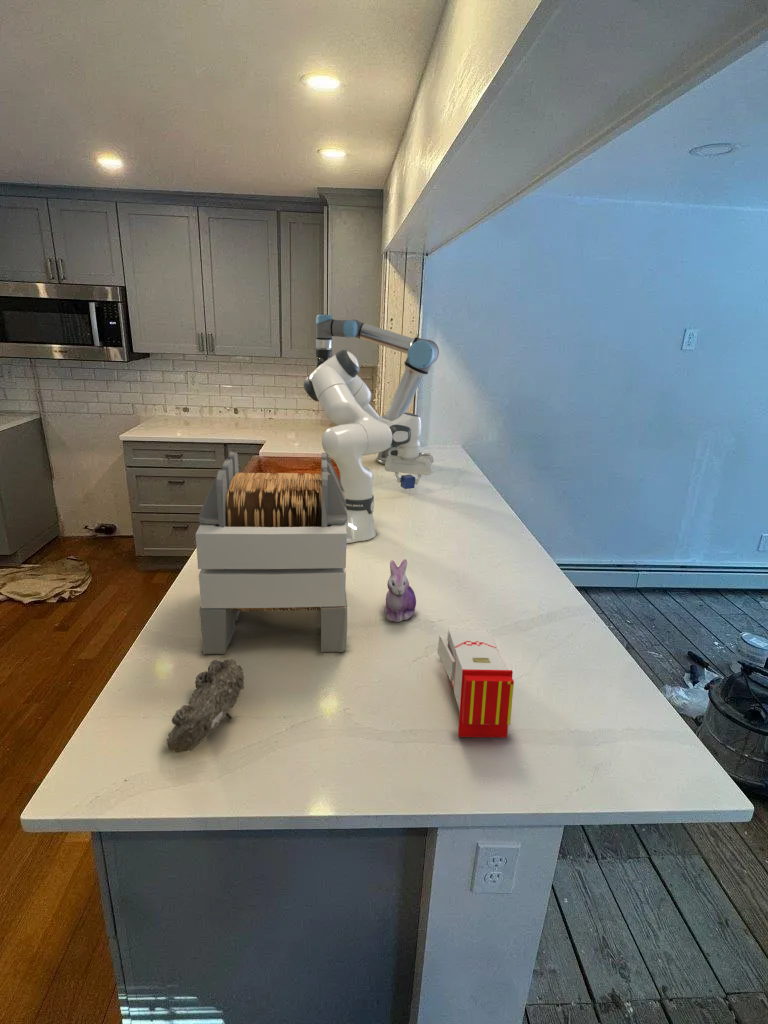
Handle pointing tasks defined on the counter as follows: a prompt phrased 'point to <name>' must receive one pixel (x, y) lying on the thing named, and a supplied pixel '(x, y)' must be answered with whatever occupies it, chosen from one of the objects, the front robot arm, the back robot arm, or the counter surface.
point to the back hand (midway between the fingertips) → (323, 394)
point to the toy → (478, 682)
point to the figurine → (399, 594)
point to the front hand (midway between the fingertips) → (407, 482)
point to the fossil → (206, 705)
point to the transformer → (272, 550)
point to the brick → (407, 481)
